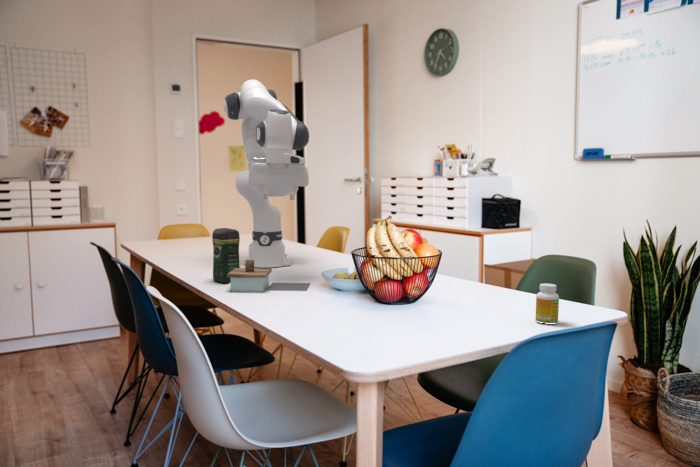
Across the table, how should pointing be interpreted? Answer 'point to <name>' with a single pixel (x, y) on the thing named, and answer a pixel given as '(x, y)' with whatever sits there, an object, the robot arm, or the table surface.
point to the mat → (289, 286)
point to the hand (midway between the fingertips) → (278, 199)
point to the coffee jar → (225, 253)
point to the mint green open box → (249, 284)
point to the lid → (249, 271)
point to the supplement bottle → (547, 304)
